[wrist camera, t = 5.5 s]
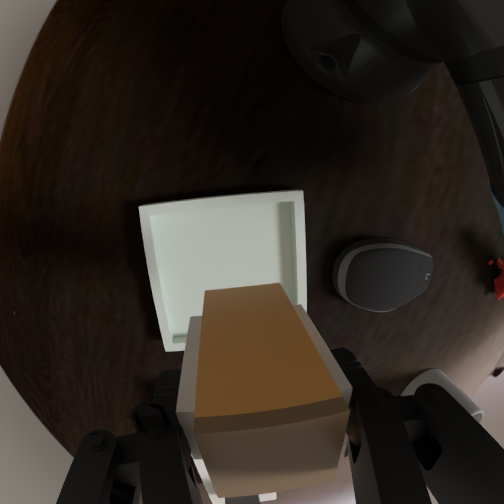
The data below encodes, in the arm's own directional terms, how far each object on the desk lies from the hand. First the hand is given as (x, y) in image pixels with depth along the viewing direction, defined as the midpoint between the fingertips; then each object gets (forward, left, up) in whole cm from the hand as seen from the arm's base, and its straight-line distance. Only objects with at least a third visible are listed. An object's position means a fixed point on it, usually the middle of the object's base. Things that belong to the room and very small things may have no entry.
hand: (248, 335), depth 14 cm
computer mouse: (+2, +15, -12) cm, 20 cm away
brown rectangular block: (0, 0, -2) cm, 2 cm away
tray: (0, -1, -12) cm, 12 cm away
